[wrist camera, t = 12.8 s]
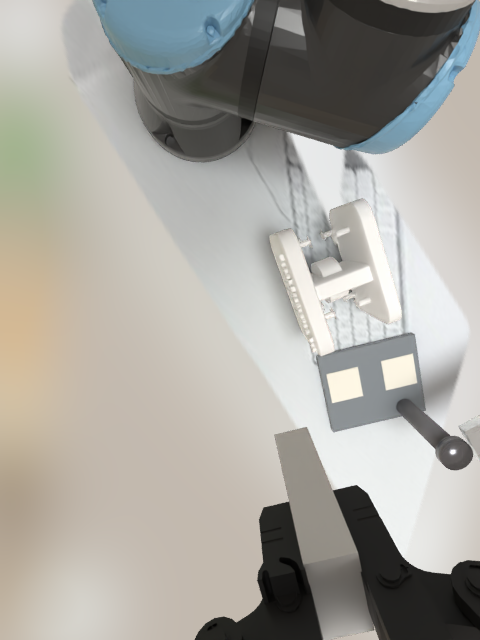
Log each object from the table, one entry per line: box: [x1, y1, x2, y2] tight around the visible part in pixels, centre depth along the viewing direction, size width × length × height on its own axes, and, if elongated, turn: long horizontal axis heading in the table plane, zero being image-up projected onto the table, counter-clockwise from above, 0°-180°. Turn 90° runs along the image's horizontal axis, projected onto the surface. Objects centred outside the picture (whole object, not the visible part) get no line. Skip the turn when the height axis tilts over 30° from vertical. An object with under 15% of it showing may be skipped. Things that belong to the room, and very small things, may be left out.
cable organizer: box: [269, 199, 402, 356], centre depth 43 cm, size 15×11×12 cm
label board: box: [316, 333, 450, 449], centre depth 46 cm, size 12×14×12 cm
